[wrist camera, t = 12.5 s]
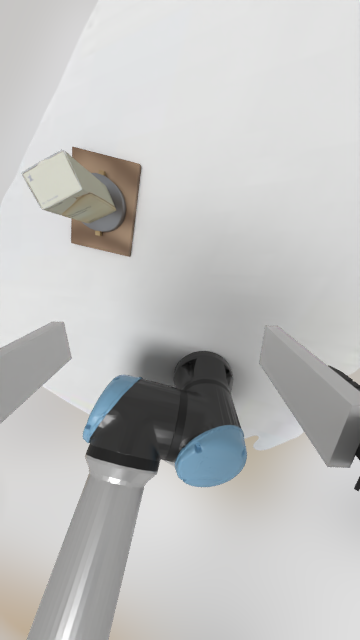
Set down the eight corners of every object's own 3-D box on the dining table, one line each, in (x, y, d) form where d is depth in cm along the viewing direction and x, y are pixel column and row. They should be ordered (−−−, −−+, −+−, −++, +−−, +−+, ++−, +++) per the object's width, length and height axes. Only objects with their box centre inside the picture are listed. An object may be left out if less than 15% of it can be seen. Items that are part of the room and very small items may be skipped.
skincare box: (88, 224, 35) (40, 212, 23) (75, 198, 33) (18, 172, 22) (118, 210, 34) (83, 190, 22) (106, 182, 32) (62, 147, 21)
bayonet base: (130, 256, 40) (124, 256, 37) (74, 243, 40) (63, 242, 36) (141, 166, 34) (136, 157, 31) (76, 150, 34) (63, 138, 30)
